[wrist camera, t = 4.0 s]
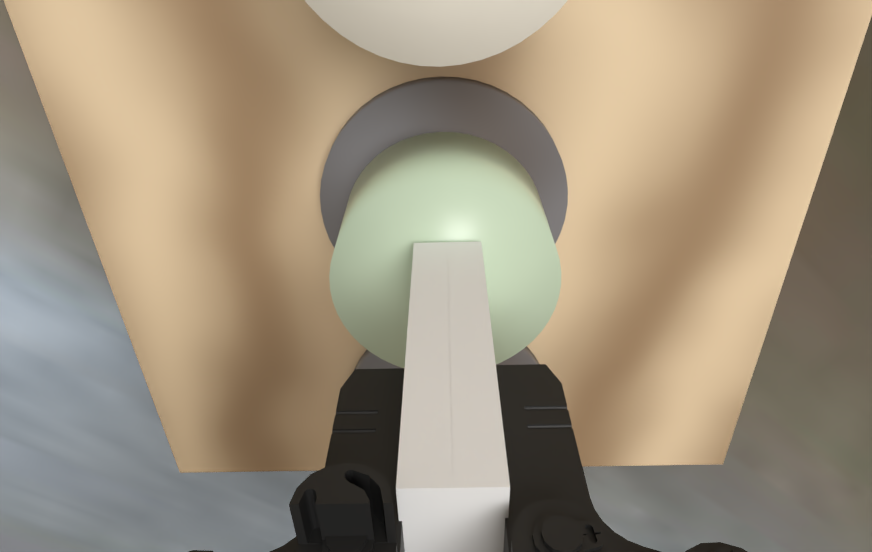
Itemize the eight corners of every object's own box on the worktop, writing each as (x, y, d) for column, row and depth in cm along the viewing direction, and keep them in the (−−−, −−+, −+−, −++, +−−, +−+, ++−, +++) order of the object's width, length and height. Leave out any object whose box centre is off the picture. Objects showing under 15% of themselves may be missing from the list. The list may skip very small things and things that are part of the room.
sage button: (355, 309, 18) (342, 376, 16) (334, 134, 15) (315, 183, 13) (536, 305, 18) (552, 372, 16) (549, 129, 15) (571, 177, 13)
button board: (196, 435, 27) (174, 484, 24) (-55, -314, 14) (-148, -352, 12) (704, 427, 26) (728, 476, 24) (933, -350, 13) (1029, -397, 11)
